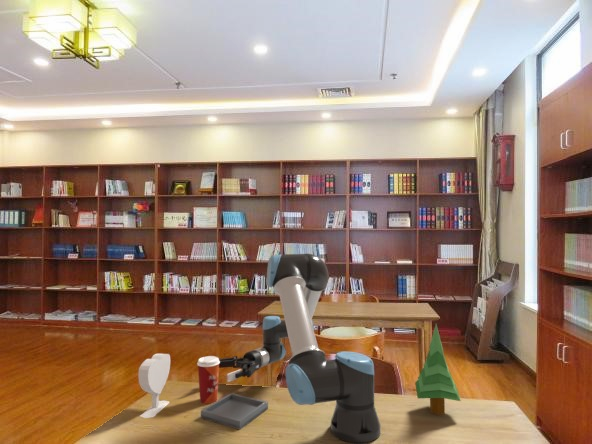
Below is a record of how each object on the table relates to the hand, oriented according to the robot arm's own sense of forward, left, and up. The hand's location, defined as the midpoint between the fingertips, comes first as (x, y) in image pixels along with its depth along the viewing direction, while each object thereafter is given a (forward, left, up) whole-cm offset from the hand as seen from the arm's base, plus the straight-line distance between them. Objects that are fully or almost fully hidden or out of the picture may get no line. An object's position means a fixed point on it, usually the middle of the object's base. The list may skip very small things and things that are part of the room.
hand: (215, 373), depth 151 cm
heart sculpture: (+12, +18, -9) cm, 23 cm away
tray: (-15, +8, -8) cm, 19 cm away
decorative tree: (-75, -25, -9) cm, 80 cm away
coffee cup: (0, +4, -9) cm, 9 cm away
